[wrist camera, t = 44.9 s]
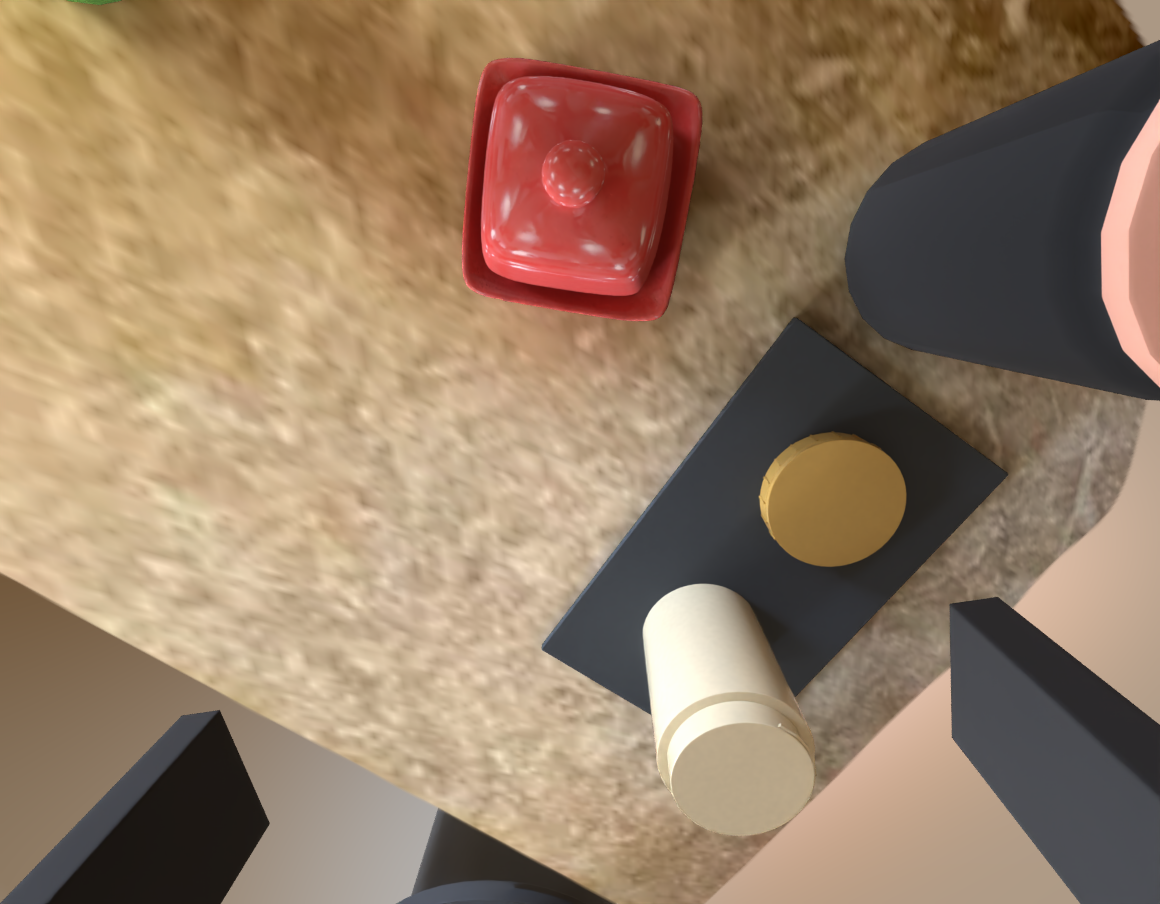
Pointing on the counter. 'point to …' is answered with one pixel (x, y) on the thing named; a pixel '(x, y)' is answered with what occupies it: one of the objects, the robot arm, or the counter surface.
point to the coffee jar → (1028, 236)
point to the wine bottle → (95, 1)
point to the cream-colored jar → (724, 714)
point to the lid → (832, 499)
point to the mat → (740, 536)
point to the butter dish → (578, 188)
